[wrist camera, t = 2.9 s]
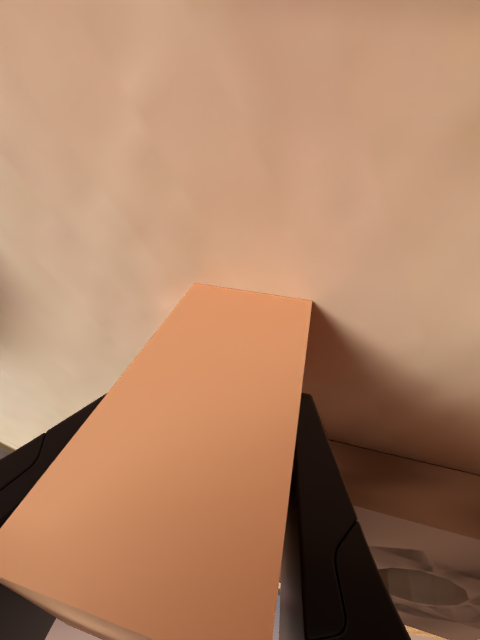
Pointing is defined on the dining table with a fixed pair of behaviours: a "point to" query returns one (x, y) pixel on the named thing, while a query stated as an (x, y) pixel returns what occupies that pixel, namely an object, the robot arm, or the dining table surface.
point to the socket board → (419, 536)
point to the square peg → (174, 482)
